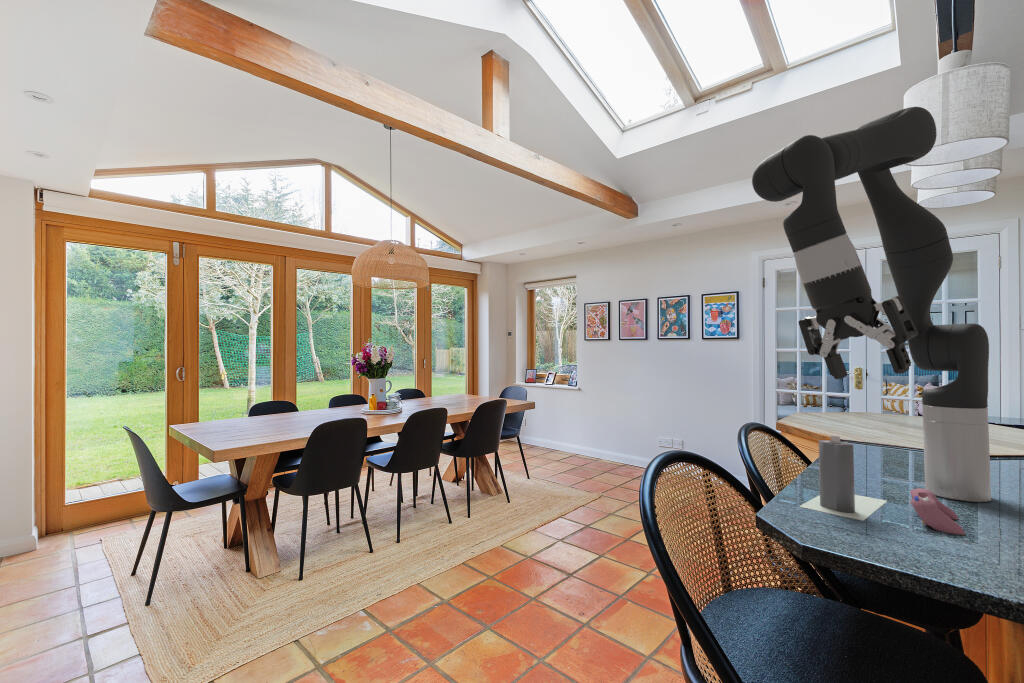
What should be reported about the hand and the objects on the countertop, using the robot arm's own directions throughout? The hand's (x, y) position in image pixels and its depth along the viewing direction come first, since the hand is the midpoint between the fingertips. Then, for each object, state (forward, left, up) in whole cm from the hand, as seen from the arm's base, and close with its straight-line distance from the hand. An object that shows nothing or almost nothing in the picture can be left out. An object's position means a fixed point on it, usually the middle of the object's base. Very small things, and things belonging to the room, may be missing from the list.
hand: (870, 375), depth 68 cm
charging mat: (-13, -7, -24) cm, 28 cm away
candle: (-9, -7, -23) cm, 26 cm away
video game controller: (-13, +5, -24) cm, 28 cm away
